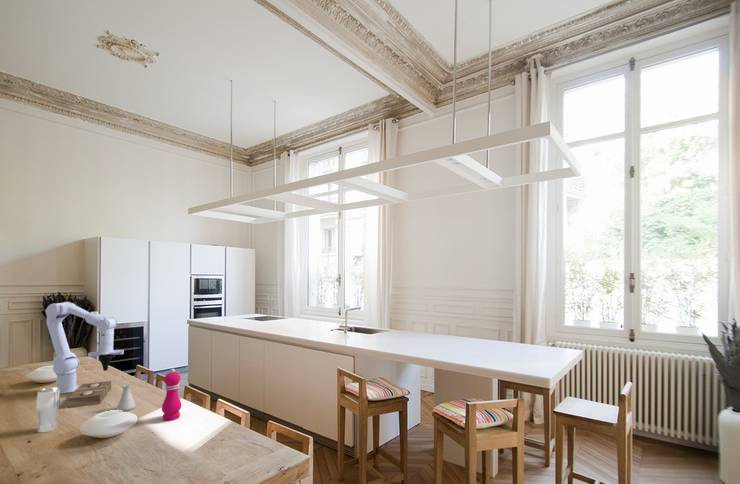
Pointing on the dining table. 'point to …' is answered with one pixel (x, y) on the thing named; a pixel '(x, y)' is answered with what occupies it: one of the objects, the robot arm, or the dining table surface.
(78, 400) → the walnut block
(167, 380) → the pepper mill
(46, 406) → the beer glass
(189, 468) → the dining table surface
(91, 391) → the birch peg outer
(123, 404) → the flask
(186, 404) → the dining table surface
